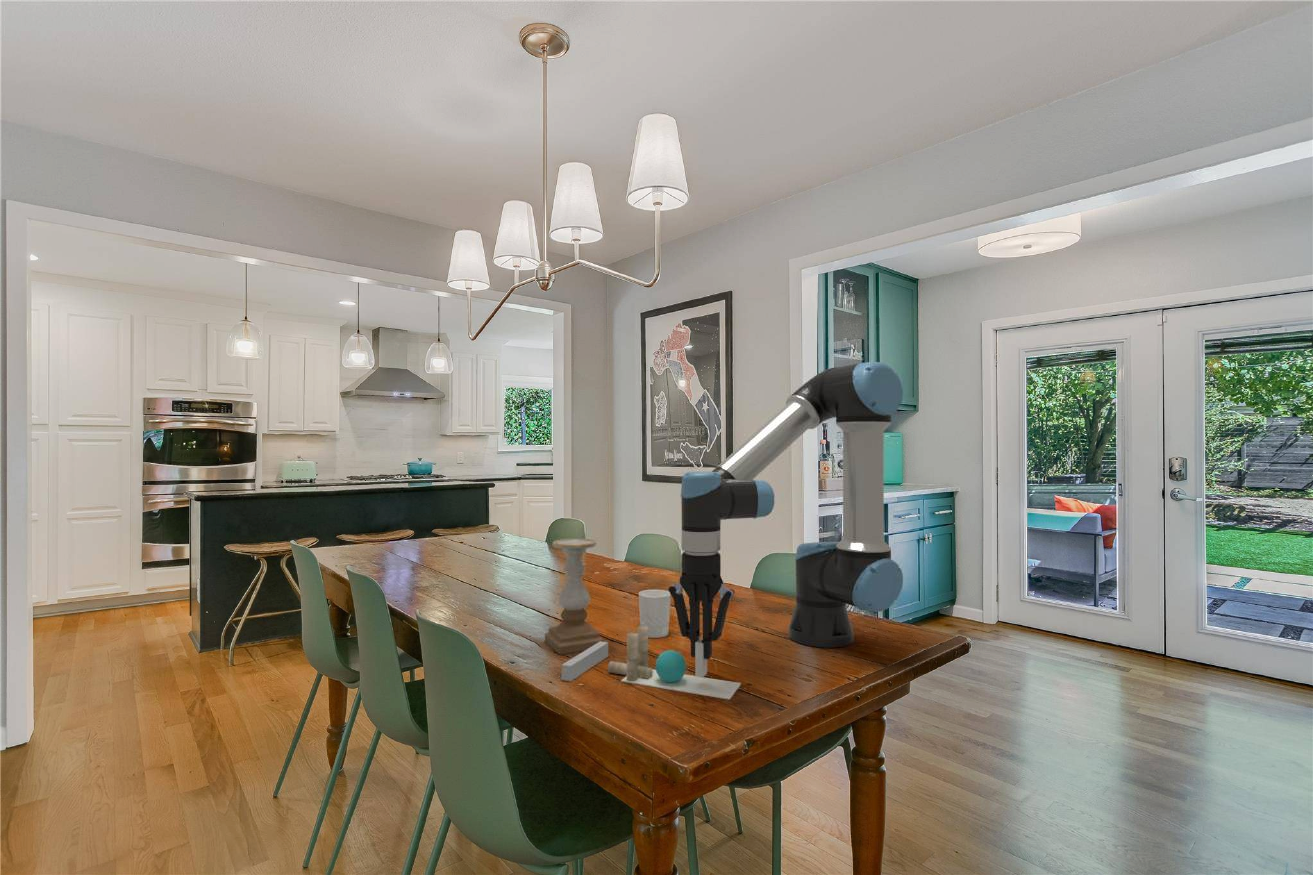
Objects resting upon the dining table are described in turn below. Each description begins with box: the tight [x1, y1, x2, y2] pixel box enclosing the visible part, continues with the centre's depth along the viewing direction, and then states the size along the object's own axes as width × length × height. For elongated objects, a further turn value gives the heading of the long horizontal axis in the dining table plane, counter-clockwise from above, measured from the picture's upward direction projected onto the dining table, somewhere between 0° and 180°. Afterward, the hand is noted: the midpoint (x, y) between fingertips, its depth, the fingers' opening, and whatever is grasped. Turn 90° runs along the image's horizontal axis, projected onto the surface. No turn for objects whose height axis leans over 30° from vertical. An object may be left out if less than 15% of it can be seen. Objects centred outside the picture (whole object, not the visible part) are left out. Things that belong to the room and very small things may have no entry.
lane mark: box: [620, 668, 742, 700], centre depth 121 cm, size 22×8×1 cm, turn 67°
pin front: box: [607, 660, 654, 679], centre depth 125 cm, size 2×2×9 cm
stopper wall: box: [561, 641, 609, 682], centre depth 129 cm, size 2×16×3 cm, turn 157°
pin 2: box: [636, 625, 649, 667], centre depth 127 cm, size 2×2×9 cm
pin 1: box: [626, 632, 638, 681], centre depth 122 cm, size 2×2×9 cm
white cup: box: [638, 589, 672, 639], centre depth 153 cm, size 8×8×10 cm
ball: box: [655, 649, 687, 683], centre depth 122 cm, size 6×6×6 cm
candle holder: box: [544, 538, 605, 656], centre depth 144 cm, size 11×11×24 cm
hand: (701, 674), depth 120 cm, fingers closed
